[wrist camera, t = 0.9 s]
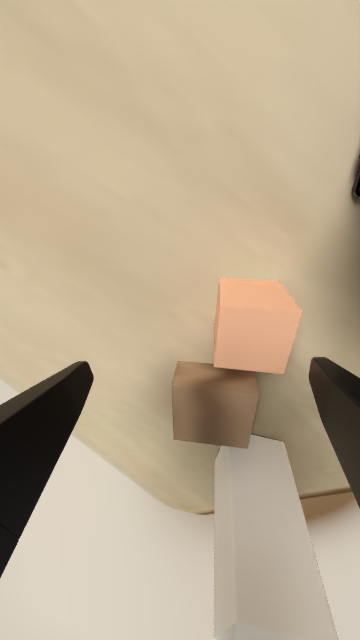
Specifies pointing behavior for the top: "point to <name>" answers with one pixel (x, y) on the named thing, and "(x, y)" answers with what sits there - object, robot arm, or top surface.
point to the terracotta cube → (254, 325)
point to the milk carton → (264, 550)
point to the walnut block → (213, 404)
